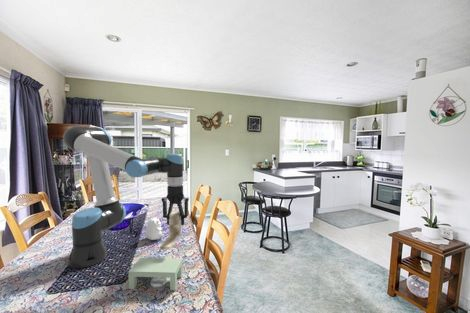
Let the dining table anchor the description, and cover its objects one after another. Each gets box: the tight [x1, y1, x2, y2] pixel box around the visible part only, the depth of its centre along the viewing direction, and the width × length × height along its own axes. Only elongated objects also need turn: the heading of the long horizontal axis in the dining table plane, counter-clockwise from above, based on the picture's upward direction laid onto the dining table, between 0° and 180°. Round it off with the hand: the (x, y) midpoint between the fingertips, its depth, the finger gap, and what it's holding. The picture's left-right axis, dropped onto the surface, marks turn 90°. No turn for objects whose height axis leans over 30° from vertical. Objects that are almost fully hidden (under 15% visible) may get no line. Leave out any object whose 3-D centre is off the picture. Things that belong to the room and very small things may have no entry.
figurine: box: [144, 217, 164, 241], centre depth 128 cm, size 10×10×12 cm
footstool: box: [128, 257, 183, 291], centre depth 88 cm, size 18×10×7 cm, turn 88°
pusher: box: [159, 210, 183, 251], centre depth 103 cm, size 4×18×11 cm, turn 178°
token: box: [150, 277, 167, 289], centre depth 88 cm, size 6×6×2 cm
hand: (175, 231), depth 110 cm, fingers closed on pusher, 4 cm apart
